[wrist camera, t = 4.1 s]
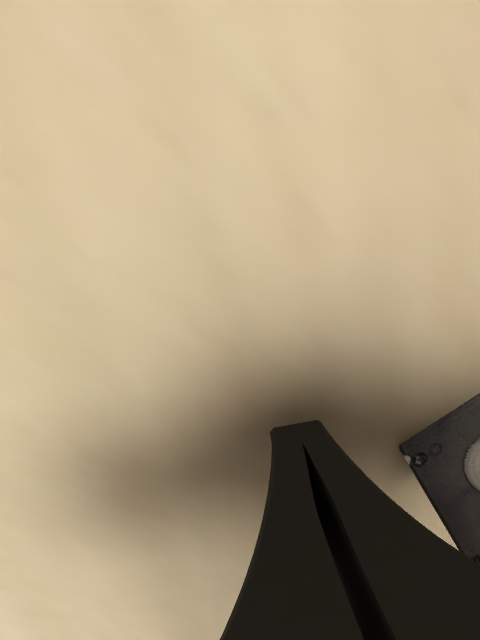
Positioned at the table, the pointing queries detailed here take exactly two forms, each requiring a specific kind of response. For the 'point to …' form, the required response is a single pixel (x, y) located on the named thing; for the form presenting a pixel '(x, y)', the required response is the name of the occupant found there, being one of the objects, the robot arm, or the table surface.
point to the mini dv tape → (452, 472)
